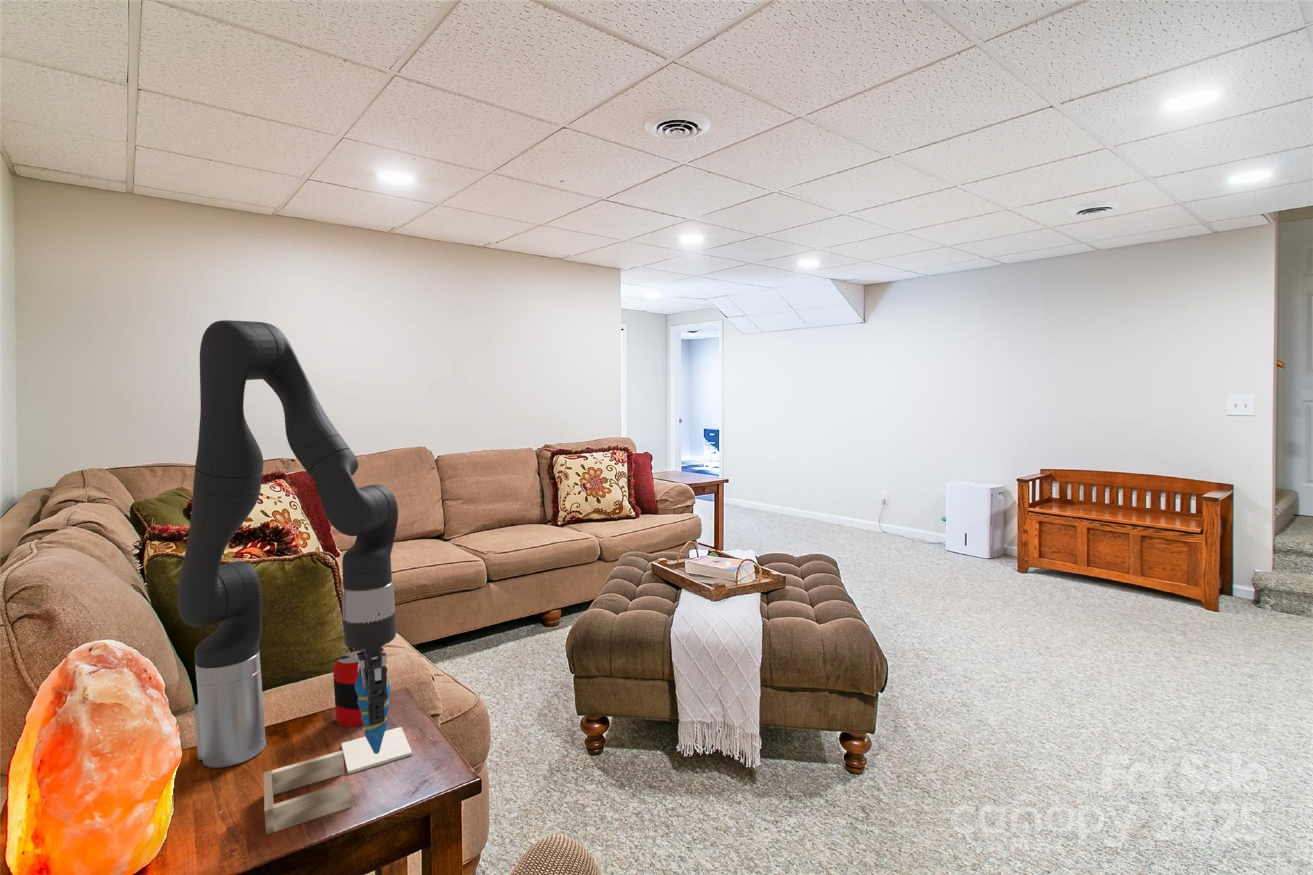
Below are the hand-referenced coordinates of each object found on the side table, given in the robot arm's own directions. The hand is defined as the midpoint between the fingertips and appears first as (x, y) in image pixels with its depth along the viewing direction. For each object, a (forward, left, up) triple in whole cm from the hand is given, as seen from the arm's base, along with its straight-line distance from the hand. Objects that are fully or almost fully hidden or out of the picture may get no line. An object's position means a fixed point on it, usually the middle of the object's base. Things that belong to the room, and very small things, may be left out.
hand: (374, 714), depth 103 cm
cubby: (-7, -7, -10) cm, 14 cm away
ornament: (0, 0, -7) cm, 7 cm away
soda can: (-16, +16, -11) cm, 25 cm away
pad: (-5, +7, -10) cm, 14 cm away
